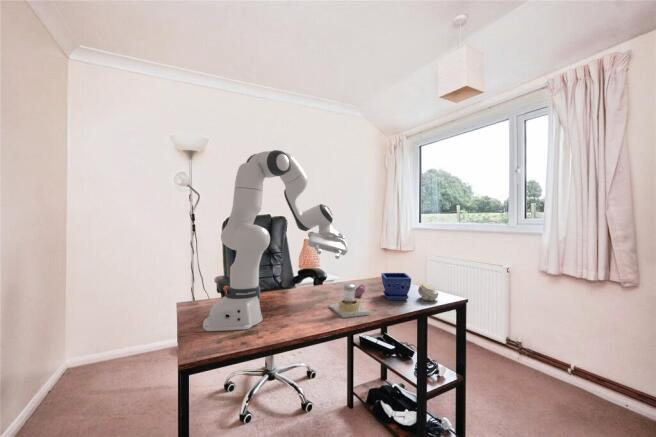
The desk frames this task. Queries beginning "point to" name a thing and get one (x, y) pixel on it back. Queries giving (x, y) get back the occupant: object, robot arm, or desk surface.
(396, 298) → the flower pot
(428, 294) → the fossil replica
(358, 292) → the purple stone
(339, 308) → the gold ring on slab
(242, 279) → the robot arm
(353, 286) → the salt shaker
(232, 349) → the desk surface
